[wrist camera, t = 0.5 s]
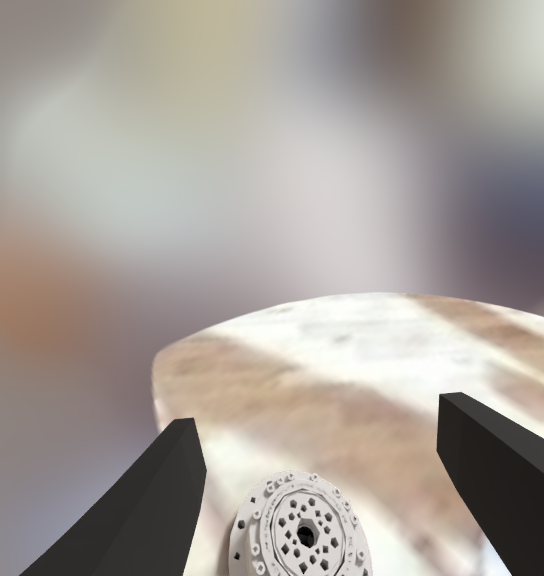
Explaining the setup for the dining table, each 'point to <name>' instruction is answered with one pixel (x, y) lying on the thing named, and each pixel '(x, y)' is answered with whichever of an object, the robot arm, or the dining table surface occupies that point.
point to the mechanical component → (291, 516)
